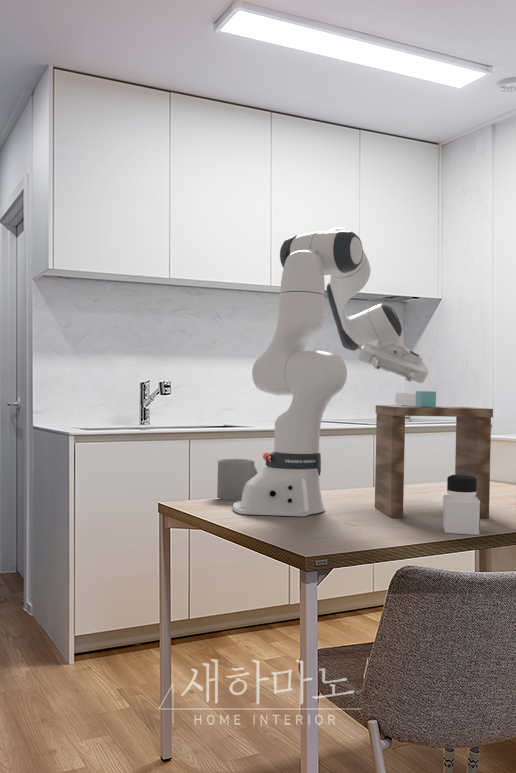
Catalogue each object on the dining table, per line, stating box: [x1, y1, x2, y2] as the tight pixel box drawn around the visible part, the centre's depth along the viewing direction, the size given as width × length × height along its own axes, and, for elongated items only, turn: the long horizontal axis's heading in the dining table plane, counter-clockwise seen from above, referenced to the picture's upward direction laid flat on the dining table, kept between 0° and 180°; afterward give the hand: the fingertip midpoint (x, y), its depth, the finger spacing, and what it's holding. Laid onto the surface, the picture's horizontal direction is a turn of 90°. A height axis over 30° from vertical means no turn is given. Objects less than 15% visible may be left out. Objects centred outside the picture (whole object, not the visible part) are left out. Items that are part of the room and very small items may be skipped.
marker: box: [395, 390, 437, 407], centre depth 176 cm, size 23×4×4 cm, turn 6°
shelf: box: [374, 404, 494, 519], centre depth 171 cm, size 24×16×26 cm, turn 96°
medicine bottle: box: [442, 474, 481, 536], centre depth 149 cm, size 7×7×12 cm
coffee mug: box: [216, 458, 259, 502], centre depth 190 cm, size 13×10×10 cm
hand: (393, 372), depth 192 cm, fingers open, 8 cm apart
